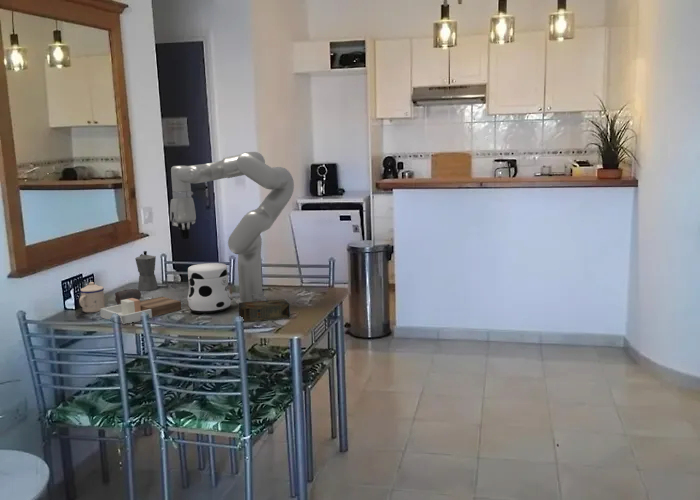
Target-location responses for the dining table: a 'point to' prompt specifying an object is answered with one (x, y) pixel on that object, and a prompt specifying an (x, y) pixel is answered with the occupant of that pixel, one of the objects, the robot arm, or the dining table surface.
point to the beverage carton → (264, 310)
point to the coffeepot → (146, 272)
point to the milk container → (208, 288)
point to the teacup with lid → (92, 298)
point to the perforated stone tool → (127, 295)
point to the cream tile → (127, 306)
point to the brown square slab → (160, 305)
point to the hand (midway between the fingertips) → (185, 238)
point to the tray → (127, 318)
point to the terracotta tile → (136, 304)
